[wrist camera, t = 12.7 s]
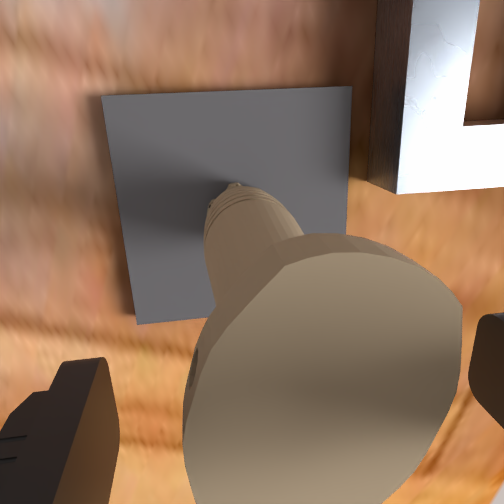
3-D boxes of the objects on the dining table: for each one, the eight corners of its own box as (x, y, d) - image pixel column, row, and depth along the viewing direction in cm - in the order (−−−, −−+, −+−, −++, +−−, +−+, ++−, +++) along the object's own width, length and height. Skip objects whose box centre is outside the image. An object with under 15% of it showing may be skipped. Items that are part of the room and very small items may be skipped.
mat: (105, 96, 19) (100, 95, 19) (345, 86, 21) (352, 85, 20) (139, 316, 24) (137, 324, 23) (337, 295, 25) (342, 302, 24)
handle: (179, 257, 22) (153, 533, 8) (208, 137, 20) (245, 221, 6) (264, 275, 23) (375, 548, 9) (300, 164, 21) (513, 288, 7)
